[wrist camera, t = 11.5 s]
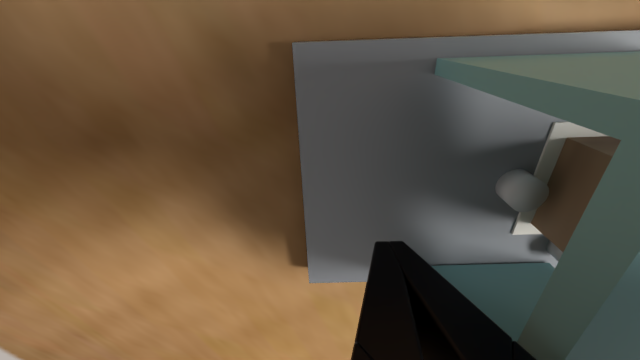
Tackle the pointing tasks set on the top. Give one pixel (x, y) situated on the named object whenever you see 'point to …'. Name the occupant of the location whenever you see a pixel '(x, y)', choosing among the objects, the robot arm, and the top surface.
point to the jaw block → (573, 186)
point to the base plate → (426, 151)
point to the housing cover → (595, 224)
